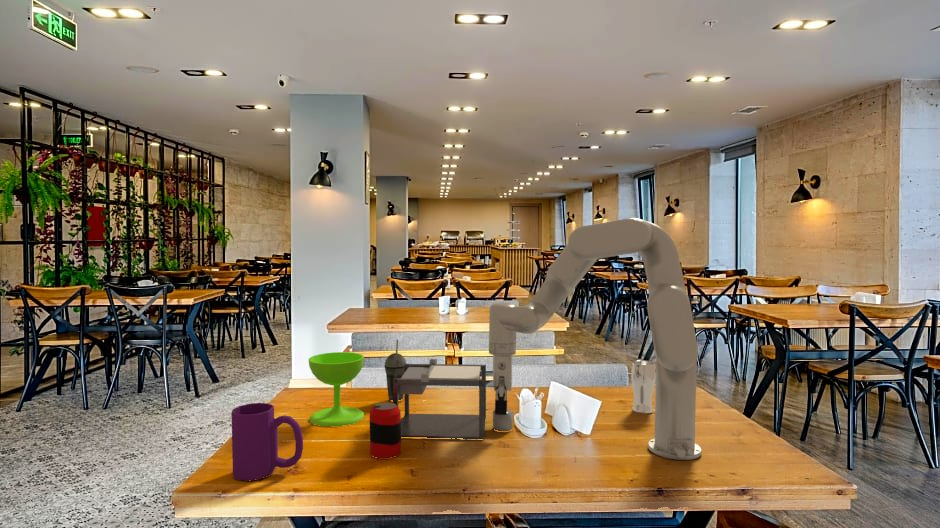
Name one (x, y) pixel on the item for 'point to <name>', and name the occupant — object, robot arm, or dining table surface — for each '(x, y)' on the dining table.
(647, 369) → the beer glass
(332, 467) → the dining table surface
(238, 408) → the mug
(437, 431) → the frame
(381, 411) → the soda can
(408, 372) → the trapdoor
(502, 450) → the dining table surface
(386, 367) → the beverage cup
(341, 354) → the wineglass
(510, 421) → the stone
